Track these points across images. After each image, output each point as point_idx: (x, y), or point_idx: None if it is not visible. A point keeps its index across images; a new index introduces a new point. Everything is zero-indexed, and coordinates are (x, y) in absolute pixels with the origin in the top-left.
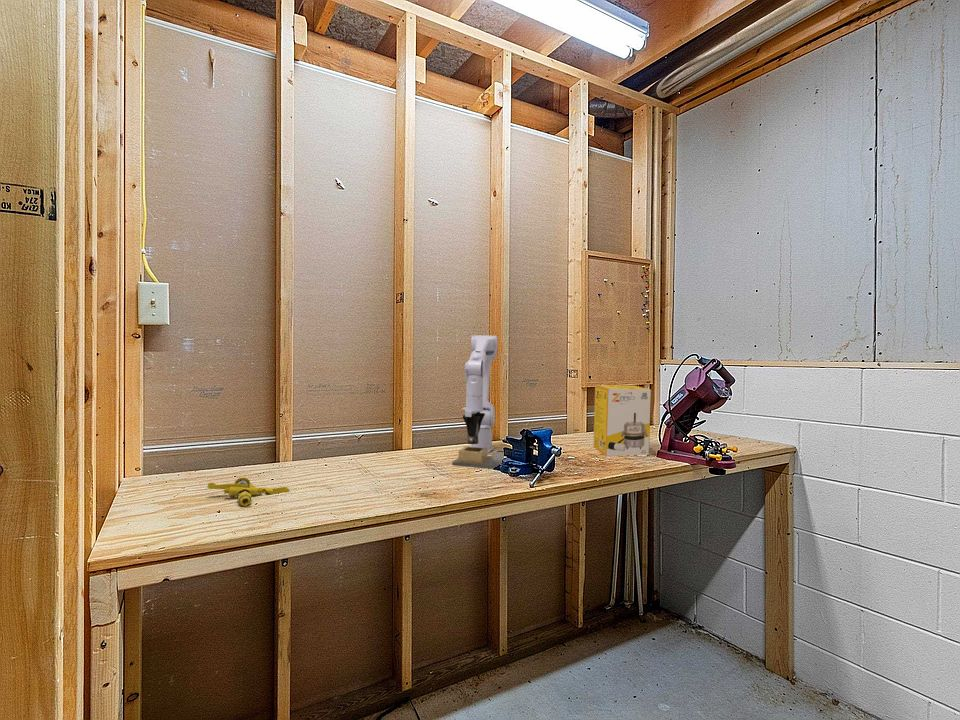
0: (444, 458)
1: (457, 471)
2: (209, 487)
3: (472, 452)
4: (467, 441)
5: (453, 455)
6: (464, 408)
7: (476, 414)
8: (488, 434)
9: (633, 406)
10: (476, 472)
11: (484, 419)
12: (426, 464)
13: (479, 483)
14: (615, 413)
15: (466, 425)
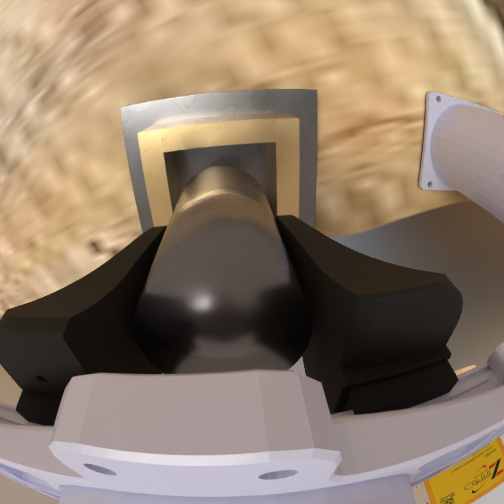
0: (248, 10)
1: (51, 182)
2: None
3: (153, 218)
4: (187, 186)
5: (335, 34)
6: (82, 468)
7: (332, 404)
8: (491, 213)
9: (420, 497)
10: (81, 249)
11: None
12: (91, 4)
13: (11, 293)
14: (421, 483)
15: (91, 274)
